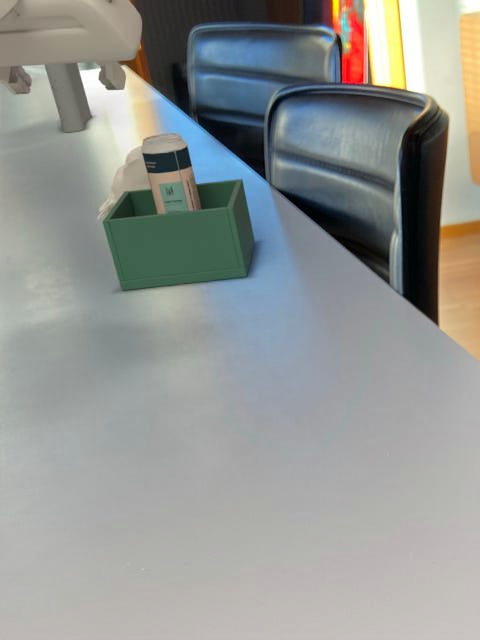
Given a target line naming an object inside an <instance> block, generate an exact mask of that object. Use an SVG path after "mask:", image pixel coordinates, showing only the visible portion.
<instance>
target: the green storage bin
mask: <svg viewBox="0 0 480 640" xmlns="http://www.w3.org/2000/svg"><path fill="white" fill-rule="evenodd" d="M196 186H197V190H198V194H199V199H200V203H201V208H202V210H193V211H184V212H174V213H165V214H157V210H156V206H155V202H154V198H153V194H152V190H151V189H144V190H134V191H125V192H124V193H123V194H122V196H121V197H120V198H119V200H118V201H117V202H116V204H115V205H114V207H113V208H112V209H111V211H110V212H109V213H108V212H107V215H105V216H104V219H103V220H102V227H103V229H104V233H105V236H106V238H107V244H108V246H109V250H110V255H111V257H112V261H113V265H114V267H115V271H116V275H117V278H118V281H119V285H120V289H121V291H128V290H129V291H131V290H139V289H140V290H141V289H148V288H149V289H150V288H157V287H166V286H176V285H185V284H194V283H201V282H202V283H203V282H212V281H219V280H220V281H221V280H229V279H239V278H246V277H247V276H248V272H249V269H250V265H251V261H252V257H253V253H254V252H253V251H254V249H255V244H256V241H255V236H254V230H253V225H252V220H251V216H250V210H249V206H248V201H247V196H246V190H245V185H244V180H243V179H242V178H239V179H229V180H221V181H219V180H218V181H211V182H202V183H201V182H200V183H196Z"/></svg>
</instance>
